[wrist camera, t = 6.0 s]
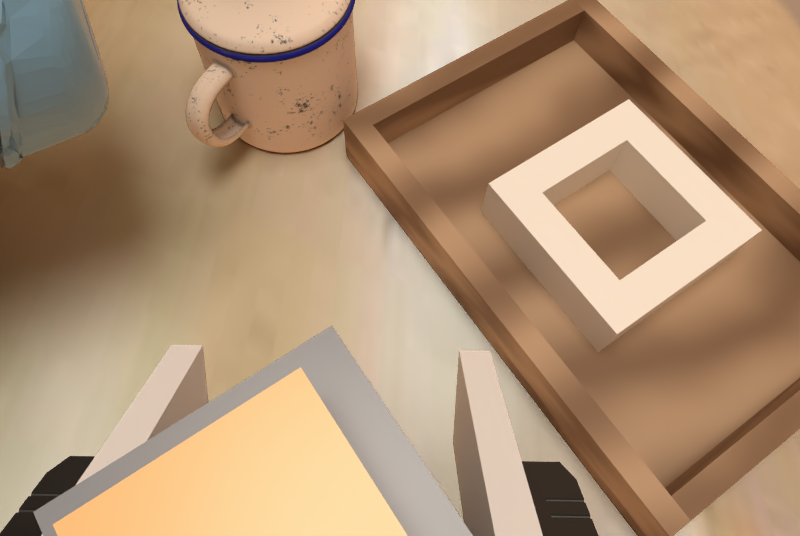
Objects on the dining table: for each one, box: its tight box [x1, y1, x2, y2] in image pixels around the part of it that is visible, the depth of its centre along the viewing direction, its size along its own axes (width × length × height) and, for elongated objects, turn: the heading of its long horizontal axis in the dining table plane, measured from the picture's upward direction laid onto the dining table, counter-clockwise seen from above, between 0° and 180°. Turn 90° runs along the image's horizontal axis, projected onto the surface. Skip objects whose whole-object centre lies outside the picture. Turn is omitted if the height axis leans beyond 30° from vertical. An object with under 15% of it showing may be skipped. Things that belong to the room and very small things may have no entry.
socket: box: [481, 99, 762, 352], centre depth 34 cm, size 10×10×3 cm
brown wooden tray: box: [343, 0, 800, 536], centre depth 35 cm, size 26×18×4 cm
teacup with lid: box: [177, 0, 358, 153], centre depth 35 cm, size 12×9×12 cm
